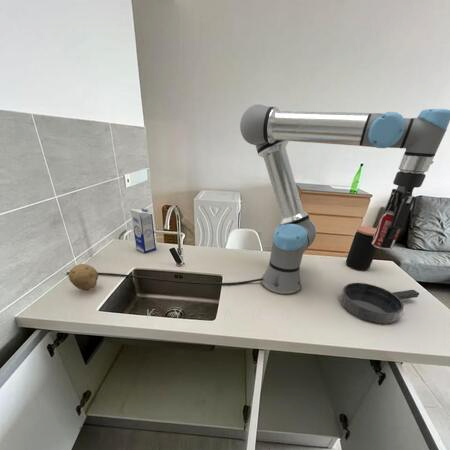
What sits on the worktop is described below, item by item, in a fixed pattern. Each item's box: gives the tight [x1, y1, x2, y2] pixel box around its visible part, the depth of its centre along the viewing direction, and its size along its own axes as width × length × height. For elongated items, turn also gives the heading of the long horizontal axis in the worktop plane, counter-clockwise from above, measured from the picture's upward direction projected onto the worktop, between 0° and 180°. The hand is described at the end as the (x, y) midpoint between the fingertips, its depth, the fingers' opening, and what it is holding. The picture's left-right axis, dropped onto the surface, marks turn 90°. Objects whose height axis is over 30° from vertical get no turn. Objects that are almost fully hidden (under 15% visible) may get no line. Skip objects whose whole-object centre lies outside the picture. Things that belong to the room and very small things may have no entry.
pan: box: [339, 282, 405, 325], centre depth 87 cm, size 19×19×4 cm
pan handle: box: [387, 289, 420, 301], centre depth 90 cm, size 12×3×2 cm, turn 106°
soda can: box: [371, 211, 402, 250], centre depth 83 cm, size 7×7×12 cm
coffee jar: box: [345, 225, 378, 272], centre depth 112 cm, size 11×11×18 cm
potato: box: [68, 263, 99, 292], centre depth 86 cm, size 9×9×10 cm
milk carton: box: [130, 208, 157, 254], centre depth 116 cm, size 7×7×20 cm
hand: (382, 242), depth 86 cm, fingers closed on soda can, 7 cm apart
